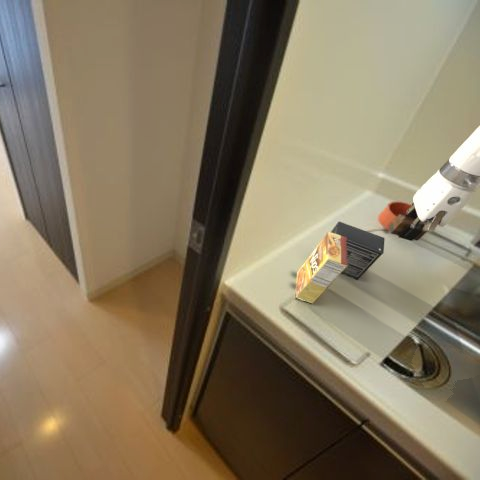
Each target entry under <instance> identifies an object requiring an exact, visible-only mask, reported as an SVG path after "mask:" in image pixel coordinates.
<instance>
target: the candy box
mask: <svg viewBox="0 0 480 480" xmlns="http://www.w3.org/2000/svg"><path fill="white" fill-rule="evenodd" d="M347 266H348V261H347V238H346V237H344V236H341V235H338V234H334V233H331V231H328V232H327V233H326V234H325V235H324V236H323V238H322V239H321V241H320V242H319V243H318V244H317V246H316V247H315V248H314V250H313V251H312V252H311V253H310V255H309V256H308V258H307V259H306V260H305V261H304V262H303V264H302V266H301V267H300V268H299V269H298V271H297V272H296V280H295V291H296V297H298V298H301V299H303V300H305V301H308V302H311V303H312V304H314V302H315V301H316V300H317V299H318V298H319V297H320V296H321V295H322V294H323V293H324V292H325V291H326V290H327V289H328V288H329V286H330V285H331V284H332V283H333V282H334V281H335V280H336V279H337V278H338V277H339V276H340V275H341V274H342V271H343V270H344V269H345V268H346V267H347Z"/></svg>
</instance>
